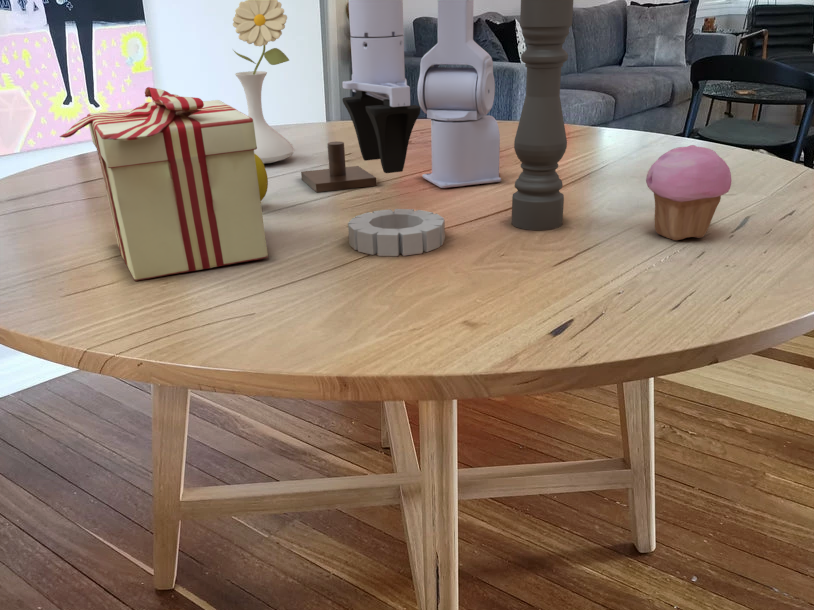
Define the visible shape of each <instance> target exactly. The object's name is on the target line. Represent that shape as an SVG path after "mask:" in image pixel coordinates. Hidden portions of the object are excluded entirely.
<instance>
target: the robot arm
mask: <svg viewBox="0 0 814 610" xmlns="http://www.w3.org/2000/svg"><path fill="white" fill-rule="evenodd" d="M403 1H404V0H348V14H349V15H348V17H349V19H348V20H349V35H350V37H349V39H350V49H351V50H350V51H351V70H352V74H351V80H343V81H342V83H341V84H342V89H344V90H348V91H349V90H351V91H352V92H353V93H355V94H354V96H347V97H343V98H342V103H343V105H344V108H345V109H346V110H347V112H348V115H349V117H350V120H351V121H352V124H353V127H354V130H355V131H354V132H355V134H356V138H357V141H358V142H357V143H358V146H359V150H360V154H361V157H362V159H363V161H364V162H366V161H375V160H380V165H381V169H382V171H383V173H384V174H391V173H392V174H393V173H402V172H403V171H404V168H405V163H406V157H407V152H408V148H409V142H410V139H411V135H412V132H413V130H414V126H415V124H416V122H417V120H418V118H419V116H420V114H421V110H422V112H423V113H424V114H426V119H428V120H430V137H431V139H430V140H431V141H430V144H431V147H430V148H431V149H430V150H431V173H423V174H422V175H421V177H422V179H424V180H426V181H428V182H429V183H431V184H433V185H435V186H437V187H439V188H441V189H447V188H457V187H465V186H474V185H480V184H481V185H483V184H484V185H485V184H493V183H500V182H502V177H500V159H501V158H500V154H501V152H500V151H501V146H500V145H501V133H500V128H499V124H498V121H497V120H496V118H495V117H494V116H492V115H489V112H490V111H491V110H492V108H493V106H494V101H495V96H496V95H495V94H496V83H495V82H496V81H495V76H494V61H493V57H492V56H491V55H490V54H489V52H487V51H486V50H485V49H483V48H482V47H481V46H480V45H479V44H478V43H477V42H476V41H475V40H474V1H475V0H437V43H436V44H434V46H433V47H431V48H430V49H429V50H428V51H427V52H426V53H424V54H423V56H422V57H421V59H420V64H419V65H420V68H419V77H418V81H417V91H416V92H417V100H418V105H416V104H411V86H409V85H408V80H407V78H406V75H405V74H406V73H405V72H406V71H405V70H406V69H405V67H406V66H405V38H404V37H405V35H404V34H405V33H404V2H403ZM440 65H453V66H454V65H460V66H461V65H462V66H464V65H466V66H470V67H445V66H443V67H442V66H441V67H440Z"/></svg>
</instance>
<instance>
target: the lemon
mask: <svg viewBox="0 0 814 610" xmlns="http://www.w3.org/2000/svg"><path fill="white" fill-rule="evenodd" d="M254 156H255V162H256V170H257V178H258V186H259V193H260V201H261V202H262V201H263V200H264V199H265V197H266V194H267V192H268V187H269V178H268V173H267V170H266V167H265V163H264V164H263V162H262V160H261V159H260V158H259V157H258V156H257V155H256V154H254Z"/></svg>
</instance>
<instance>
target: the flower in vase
mask: <svg viewBox="0 0 814 610" xmlns="http://www.w3.org/2000/svg"><path fill="white" fill-rule="evenodd" d="M282 5H283V4H282V2H280V1H278V0H244V1H243V0H242V1H240V2H239V3H238V7H237V8H235V10H234V11H235V12H234V13H235V14H234V16H233V18H232V21H233V22H232V26H233V27H234V28H235V33H236V34H239V35H238V39H239V41H243V42H246V43H247V44H248V45H254V46H255V47H262V53H261V56H260V57H259V59H258V60H257V63H256V62H255V61H253V60H252V58H250V57H248V56H247V55H243V54H241V53H238V52H236V50H235V49H232V51H233V52H234V54H236V55H237V56H238V57H239V58H242V59H243V60H246V61H248V62H251V63H252V64H255V66H254V69H253V70H251V71H250V70H249V71H239V72H235V73H234V75H235V77H237V79H238V80H239V82H240V84H241V86H242V88H243V91H244V94H245V95H244V96H245V98H246V104H247V113H248V115H247V116H249V117H251V118H252V119H253V122H254V129H255V137H256V145H257V149H256V150H254V154H256V155H257V156H258V157H259V158H260V159H261V160H262V162H263V164H264V165H265V164H272V163H276V162H279V161H283V160H286V159H287V158H289V157H291V156H292V155H293V154H294V152H295V148H294V146H293V144H292V143H291V142H290V141H289V140H288V139H287V138H286V137H285V136H283V135H282V134H281V133H280V132H278V131H277V130H275V129H274V128H273V127H272V126H270V124H268V123H267V121H266V120H265V117H264V113H263V107H262V106H263V105H262V91H263V90H262V89H263V83H264V80H265V79H266V76H267V74H268V72H267V71H263V70H258V68H259V66H260V64H261V61H262V60H263V58H264V59H265V60H266V62H267V63H268V65H272V66H275V65H280V64H283V63H287V62H289V61H290V59H289V58H288V56H287V55H286V54H285V52H284V51H283V50H281V49H280V48H277V47H273V48H270V49H269V50H267V51H266V46H267V45H268V44H269V43H270V42H276V41H277V40H278V39H280V37H281V36H282V35H283V31H282V30H284V29H285V28H286V25H285V24H286V23H287V20H288V15H287V14H284V13H285V9H284V8H283V7H282Z"/></svg>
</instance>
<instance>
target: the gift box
mask: <svg viewBox="0 0 814 610" xmlns="http://www.w3.org/2000/svg"><path fill="white" fill-rule="evenodd" d="M144 94H145V95H144V96H145V98H151V101H152V102H151V101H149V102H143V103H141V105H139V106H137V107H135V108H128V109H119V110H111V111H101V112H100V111H99V112H91V113H88V114H87V115H86V116H85V117H82V118H81V119H79V121H77V122H75V123H74V124H73V125H72V126H71V127H70V128H69V129H68V130H66V132H65V133H63V134H61V135H59V138H65V139H66V138H70V137H72V136H74V135H75V134H76V133H77V132H79V130H81V129H84V128H85V127H87V126H88V127H89V132H90V137H91V140H92V143H93V145H94V147H95V148H96V152H97V156H98V160H99V165H100V168H101V169H100V170H101V173H102V178H103V183H104V187H105V191H106V195H107V200H108V205H109V209H110V214H111V219H112V224H113V228H114V233H115V237H116V242H117V247H118V249H119V253H120V256H121V258H122V259H123V260H124V264H125V265H126V267H127V268H128V270H129V272H130V273H129V274H130V275H131V277H132V279H133V280H134V281H137V282H138V281H143V280H149V279H154V278H161V277H166V276H172V275H176V274H182V273H188V272H196V271H201V270H206V269H213V268H217V267H223V266H229V265H234V264H239V263H240V264H241V263H246V262H247V263H248V262H252V261H253V262H254V261H258V260H259V261H260V260H263V259H267V258H269V252H268V247H267V241H266V239H267V238H266V232H265V223H264V218H263V210H262V201H260V193H259V186H258V178H257V170H256V162H255V156H254V150H256V149H257V145H256V137H255V129H254V122H253V119H252V118H251V117H249V116H248V115H247V114H246V113H244V112H241V111H239V110H238V109H237V108H235V107H233V106H231V105H229V104H227V103H225V102H224V101H221V100H220V99H215V100H214V99H213V100H205V101H203V100H202V99H201V98H200V97H193V96H180V95H178V94H176V93H175V94H174V93H170V92H168V91H167V90H164V89H161V88H155V87H150V86H148V87H147V86H146V88H145V91H144Z"/></svg>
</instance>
